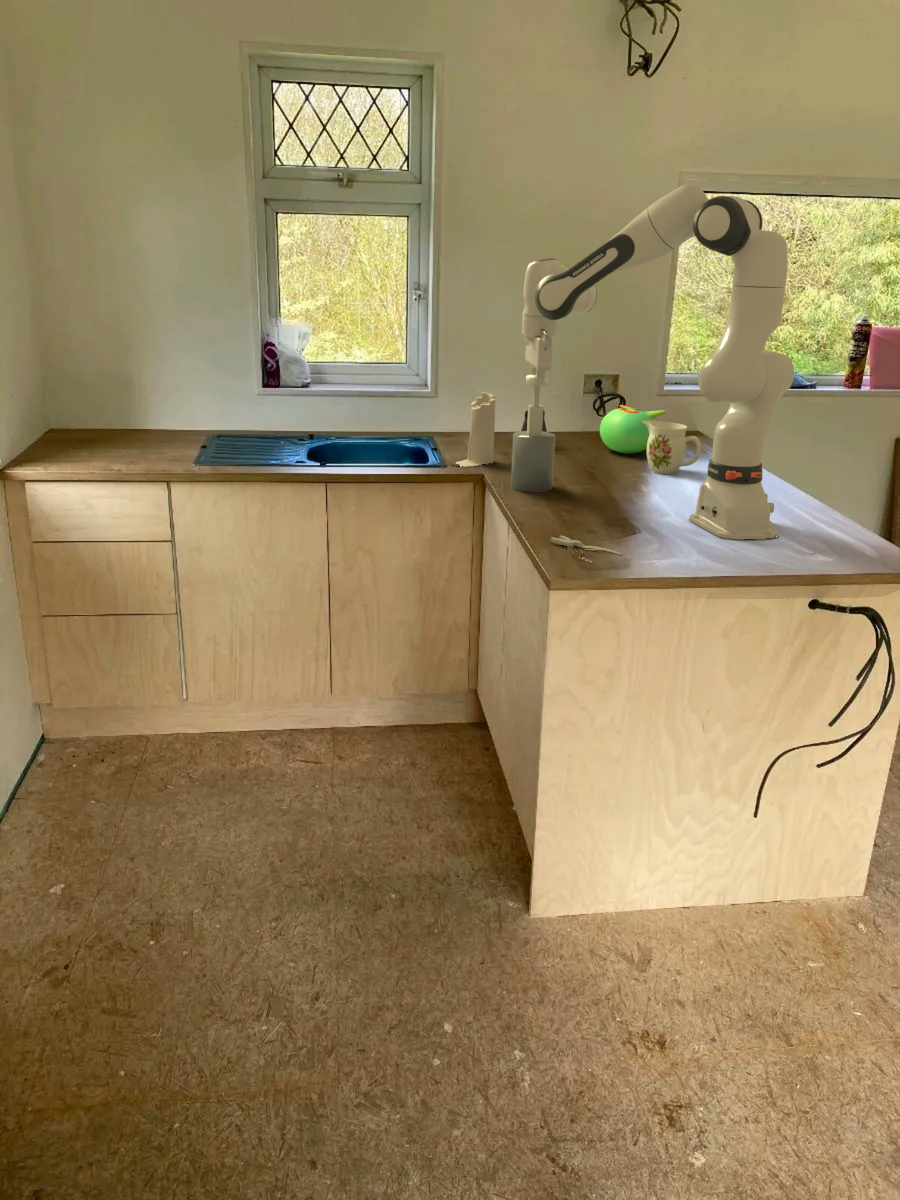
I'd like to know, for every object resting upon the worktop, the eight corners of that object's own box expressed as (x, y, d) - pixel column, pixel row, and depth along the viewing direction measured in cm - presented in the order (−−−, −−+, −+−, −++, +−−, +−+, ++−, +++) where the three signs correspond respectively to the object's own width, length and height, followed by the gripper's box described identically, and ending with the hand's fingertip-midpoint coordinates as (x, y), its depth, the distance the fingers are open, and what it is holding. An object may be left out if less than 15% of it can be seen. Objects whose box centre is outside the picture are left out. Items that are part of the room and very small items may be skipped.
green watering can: (588, 449, 293) (591, 402, 288) (630, 444, 301) (635, 398, 295) (622, 460, 278) (627, 411, 273) (667, 456, 286) (672, 408, 280)
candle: (446, 464, 270) (447, 394, 263) (482, 458, 278) (484, 390, 271) (462, 468, 265) (464, 398, 258) (498, 462, 273) (500, 393, 266)
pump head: (548, 413, 237) (550, 377, 234) (526, 413, 237) (528, 377, 233) (544, 409, 242) (546, 374, 239) (523, 409, 242) (524, 374, 239)
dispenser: (555, 492, 242) (560, 409, 234) (514, 492, 241) (517, 409, 233) (548, 482, 252) (552, 402, 244) (508, 482, 251) (511, 402, 244)
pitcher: (691, 480, 257) (697, 430, 252) (630, 471, 266) (634, 423, 261) (703, 472, 266) (709, 424, 261) (644, 464, 275) (648, 417, 270)
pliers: (590, 558, 189) (539, 540, 199) (590, 565, 189) (539, 547, 200) (623, 549, 194) (571, 532, 205) (622, 556, 195) (571, 539, 206)
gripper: (559, 331, 222) (556, 390, 227) (545, 324, 241) (542, 378, 246) (533, 331, 222) (531, 389, 227) (521, 323, 241) (518, 378, 246)
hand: (536, 383), depth 237 cm, fingers closed on pump head, 6 cm apart
